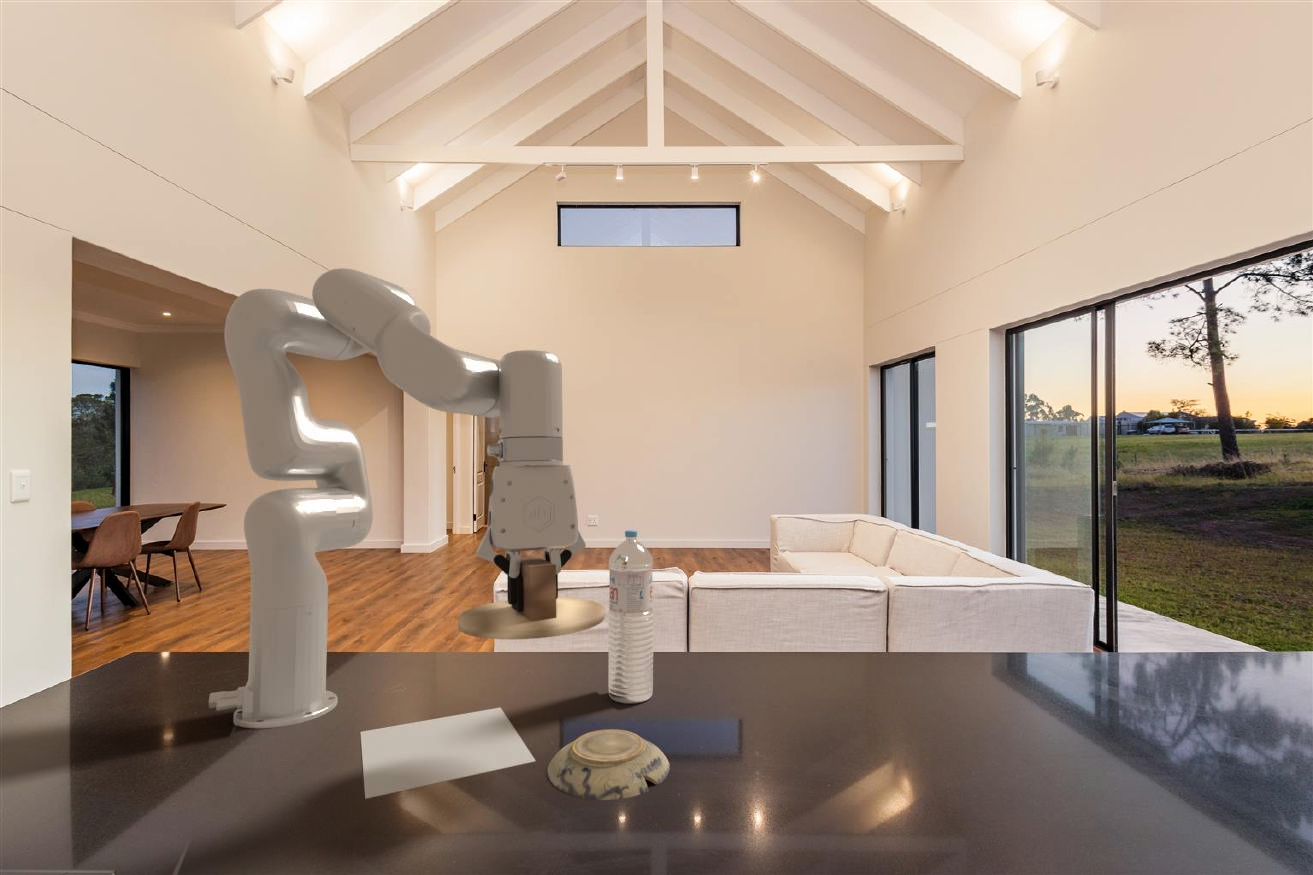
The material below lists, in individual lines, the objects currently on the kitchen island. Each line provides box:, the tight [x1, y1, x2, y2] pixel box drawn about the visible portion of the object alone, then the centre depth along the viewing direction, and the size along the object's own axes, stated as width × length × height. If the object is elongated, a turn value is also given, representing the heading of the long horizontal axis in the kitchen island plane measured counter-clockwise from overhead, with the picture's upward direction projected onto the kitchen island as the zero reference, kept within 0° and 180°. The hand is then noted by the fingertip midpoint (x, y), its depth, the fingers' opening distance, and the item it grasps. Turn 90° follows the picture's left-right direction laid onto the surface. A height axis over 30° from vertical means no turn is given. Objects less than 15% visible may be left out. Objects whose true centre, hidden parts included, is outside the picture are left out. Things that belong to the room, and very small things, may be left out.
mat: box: [359, 707, 537, 800], centre depth 76 cm, size 18×18×1 cm
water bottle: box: [607, 529, 654, 705], centre depth 95 cm, size 7×7×25 cm
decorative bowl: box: [546, 728, 671, 801], centre depth 71 cm, size 15×4×15 cm
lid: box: [457, 555, 605, 641], centre depth 74 cm, size 17×17×7 cm
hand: (533, 606), depth 74 cm, fingers closed on lid, 3 cm apart
